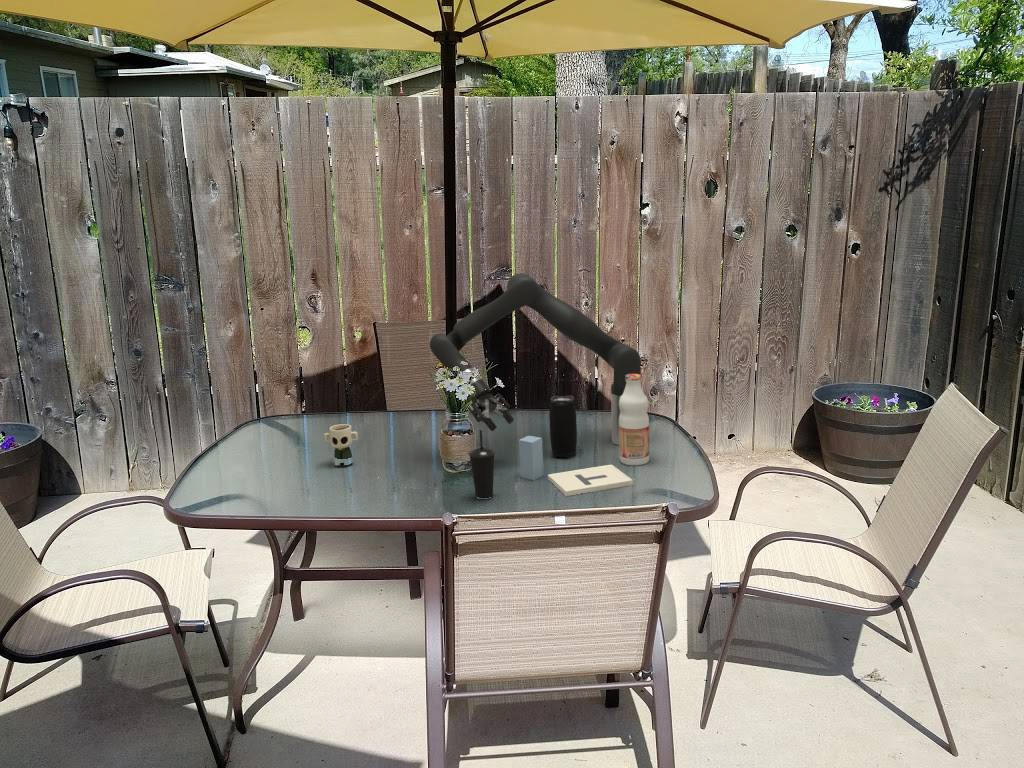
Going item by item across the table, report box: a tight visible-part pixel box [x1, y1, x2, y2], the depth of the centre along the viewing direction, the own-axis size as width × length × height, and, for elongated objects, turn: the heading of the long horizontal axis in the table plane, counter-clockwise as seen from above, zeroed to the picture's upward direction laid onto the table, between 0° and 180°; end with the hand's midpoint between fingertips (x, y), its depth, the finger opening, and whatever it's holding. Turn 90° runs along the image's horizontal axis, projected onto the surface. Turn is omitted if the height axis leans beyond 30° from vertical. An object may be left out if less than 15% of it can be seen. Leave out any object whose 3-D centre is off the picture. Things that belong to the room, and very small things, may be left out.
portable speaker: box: [548, 394, 578, 459], centre depth 264 cm, size 9×9×20 cm
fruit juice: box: [618, 374, 650, 466], centre depth 254 cm, size 9×9×28 cm
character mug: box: [323, 423, 359, 459], centre depth 266 cm, size 11×7×13 cm, turn 90°
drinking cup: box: [468, 429, 496, 498], centre depth 232 cm, size 8×8×20 cm
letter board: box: [547, 464, 634, 497], centre depth 242 cm, size 21×15×2 cm
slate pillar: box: [518, 435, 544, 480], centre depth 248 cm, size 5×5×12 cm
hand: (503, 425), depth 252 cm, fingers open, 8 cm apart
